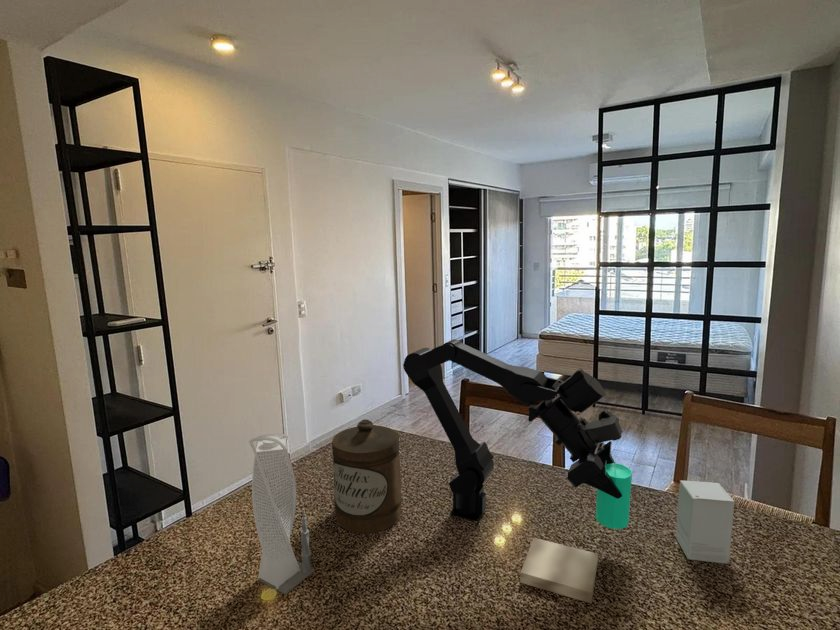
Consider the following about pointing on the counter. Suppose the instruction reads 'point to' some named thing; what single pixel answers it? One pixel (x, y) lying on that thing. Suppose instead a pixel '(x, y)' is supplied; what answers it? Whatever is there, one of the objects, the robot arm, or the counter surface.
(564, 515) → the counter surface
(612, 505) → the candle
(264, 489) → the skyscraper
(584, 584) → the beige square slab
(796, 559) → the counter surface
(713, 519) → the supplement box
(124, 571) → the counter surface
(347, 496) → the wooden container
